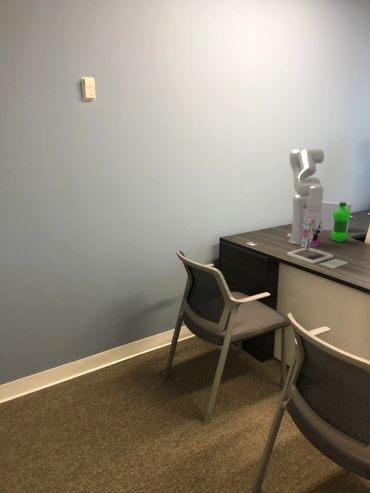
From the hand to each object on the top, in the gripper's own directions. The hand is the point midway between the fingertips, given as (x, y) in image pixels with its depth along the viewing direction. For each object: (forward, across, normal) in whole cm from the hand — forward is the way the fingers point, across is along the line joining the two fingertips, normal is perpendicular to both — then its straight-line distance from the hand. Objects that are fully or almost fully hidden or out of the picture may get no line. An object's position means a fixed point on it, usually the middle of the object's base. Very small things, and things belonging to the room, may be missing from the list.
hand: (311, 238), depth 217 cm
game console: (+12, -30, +59) cm, 68 cm away
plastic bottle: (+11, -8, +40) cm, 43 cm away
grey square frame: (+10, +1, -1) cm, 10 cm away
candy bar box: (+5, 0, 0) cm, 5 cm away
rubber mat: (+10, +17, -1) cm, 20 cm away
